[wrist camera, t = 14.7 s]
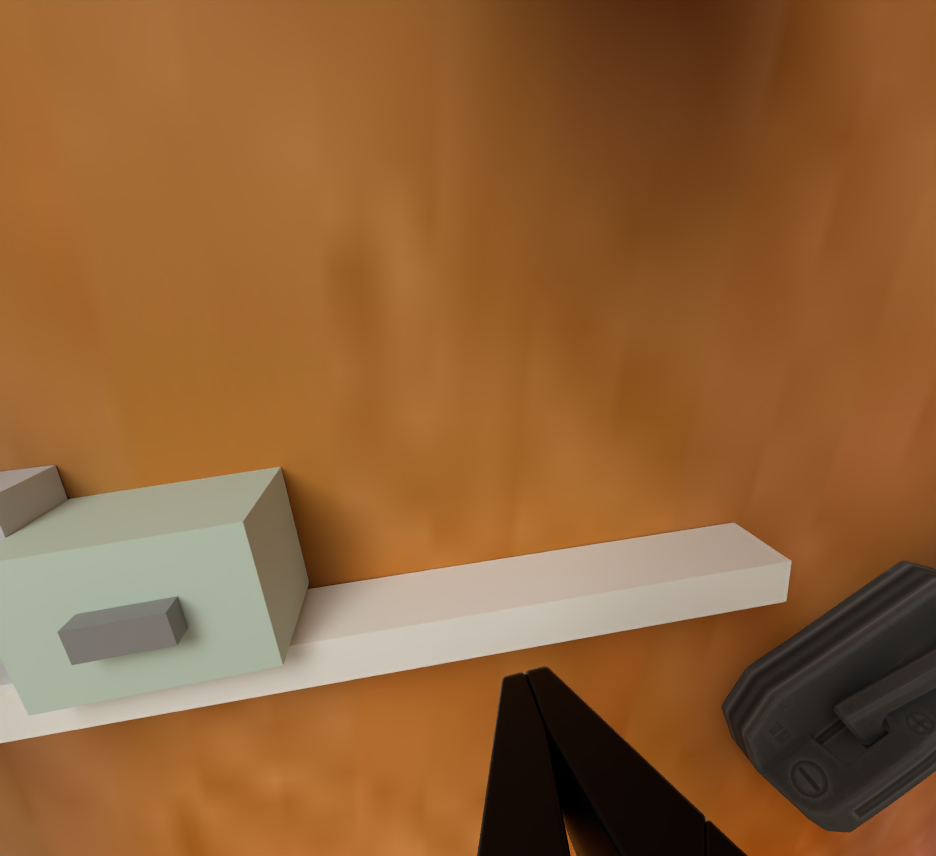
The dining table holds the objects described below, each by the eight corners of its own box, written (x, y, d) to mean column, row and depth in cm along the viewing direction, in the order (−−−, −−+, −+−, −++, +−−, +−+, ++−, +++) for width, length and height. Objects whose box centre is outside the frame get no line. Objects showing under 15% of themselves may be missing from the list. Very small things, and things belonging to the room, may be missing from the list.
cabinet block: (72, 497, 18) (-71, 584, 13) (281, 465, 19) (234, 534, 14) (118, 614, 20) (9, 738, 14) (309, 580, 21) (277, 684, 15)
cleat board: (-18, 473, 17) (-118, 516, 14) (746, 382, 21) (812, 398, 17) (62, 668, 20) (-6, 744, 16) (730, 558, 23) (786, 601, 20)
